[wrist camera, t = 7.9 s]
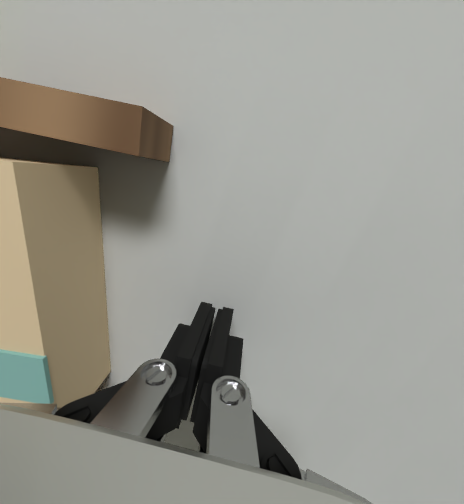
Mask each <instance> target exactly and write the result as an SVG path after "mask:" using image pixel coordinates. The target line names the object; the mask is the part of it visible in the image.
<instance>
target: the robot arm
mask: <svg viewBox="0 0 464 504" xmlns="http://www.w3.org/2000/svg"><path fill="white" fill-rule="evenodd" d="M233 310H234V309H230V308H226V307H223V310H222V309H218V312H217V316H216V319H215V322H214V325H213V329H212V332H211V327H212V323H213V318H214V313H215V308H214V307H212V304H209V303H205V302H201V304H200V306H199V308H198V311H197V313H196V315H195V317H194V319H193V321H192V324H191V326H188V325H184V324H179V325H178V327H177V328H176V330H175V332H174V334H173V336H172V337H171V339H170V341H169V343H168V345H167V347H166V348H165V350H164V352H163V354H162V356H161V358H160V359H152V360H148V361H146V362H144V363H143V364H142V365H141V366H140V367H139V368H138V369H137V370H136V371H135V372H134V374H133V375H132V376H131V377H130V378H129V379H128V380H127V381H126V382H123V383H120V384H118V385H115V386H112V387H110V388H107V389H104V390H102V391H99V392H96V393H94V394H91V395H88V396H86V397H83V398H80V399H78V400H75V401H72V402H70V403H68V404H66V405H64V406H63V407H62V408H58V407H57V404H43V403H0V504H372V503H371V502H369V501H368V500H366V499H365V498H363V497H361V496H359V495H357V494H355V493H354V492H352V491H350V490H348V489H346V488H344V487H342V486H340V485H338V484H336V483H334V482H332V481H330V480H329V479H327V478H325V477H323V476H321V475H319V474H317V473H315V472H313V471H311V470H309V469H307V470H306V472H305V471H303V470H301V469H299V467H298V465H297V464H296V462H295V461H294V459H293V458H292V456H291V455H290V454H289V453H288V452H287V450H286V449H285V448H284V447H283V446H282V444H281V443H280V442H279V441H278V440H277V438H276V437H275V436H274V435H273V433H272V432H271V431H270V430H269V429H268V427H267V426H266V425H265V424H264V423H263V421H262V420H261V419H260V418H259V417H258V415H257V414H256V413H255V412H254V411H253V409H252V404H251V396H250V392H249V388H248V387H247V385H246V384H245V383H244V382H243V381H242V380H240V369H241V358H242V348H243V339H242V338H238V337H234V336H230V335H229V331H230V326H231V320H232V315H233ZM210 332H211V335H210ZM209 337H210V338H209ZM198 380H199V381H198ZM197 383H198V386H197ZM196 386H197V391H196V395H195V400H194V405H193V410H192V415H191V420H190V422H194V428H193V433H194V435H195V437H196V439H197V440H198V442H199V448H198V452H197V451H194V450H190V449H186V448H182V447H178V446H175V445H171V444H167V443H164V441H165V438H166V434H167V433H168V432H170V431H172V430H174V429H175V428H178V429H179V426H180V422H181V419H182V420H187V417H188V413H189V410H190V406H191V403H192V400H193V396H194V393H195V390H196Z"/></svg>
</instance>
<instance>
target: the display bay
mask: <svg viewBox="0 0 464 504" xmlns="http://www.w3.org/2000/svg"><path fill="white" fill-rule="evenodd" d="M0 127H4V128H8V129H13V130H18V131H22V132H27V133H32V134H37V135H41V136H46V137H51V138H55V139H60V140H65V141H69V142H74V143H79V144H84V145H88V146H93V147H98V148H102V149H107V150H112V151H116V152H121V153H126V154H131V155H135V156H140V157H145V158H151V159H156V160H161V161H166V162H169V160H170V151H171V142H172V133H173V126H172V125H171V124H169V123H168V122H166V121H164V120H163V119H161V118H160V117H158V116H157V115H155V114H153V113H152V112H150V111H149V110H147V109H145V108H144V107H142V106H137V105H132V104H127V103H123V102H118V101H113V100H108V99H103V98H98V97H93V96H89V95H84V94H79V93H74V92H69V91H64V90H59V89H55V88H50V87H45V86H40V85H35V84H30V83H25V82H21V81H16V80H11V79H6V78H1V77H0Z"/></svg>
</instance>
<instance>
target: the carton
mask: <svg viewBox="0 0 464 504" xmlns="http://www.w3.org/2000/svg"><path fill="white" fill-rule="evenodd" d="M110 372H111V365H110V349H109V333H108V318H107V302H106V286H105V270H104V255H103V239H102V223H101V208H100V192H99V176H98V167H89V166H80V165H70V164H61V163H51V162H42V161H32V160H23V159H13V158H3V157H0V403H43V404H57V407H58V408H62V407H63V406H64V405H66V404H68V403H70V402H72V401H75V400H78V399H80V398H83V397H86V396H88V395H91V394H94V393H95V392H96V390H97V389H98V388H99V386H100V385H101V384H102V382H103V381H104V380H105V378H106V377H107V376H108V374H109V373H110Z"/></svg>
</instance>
